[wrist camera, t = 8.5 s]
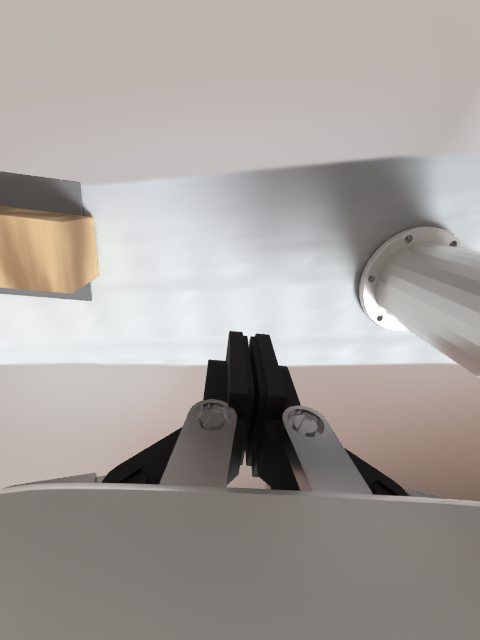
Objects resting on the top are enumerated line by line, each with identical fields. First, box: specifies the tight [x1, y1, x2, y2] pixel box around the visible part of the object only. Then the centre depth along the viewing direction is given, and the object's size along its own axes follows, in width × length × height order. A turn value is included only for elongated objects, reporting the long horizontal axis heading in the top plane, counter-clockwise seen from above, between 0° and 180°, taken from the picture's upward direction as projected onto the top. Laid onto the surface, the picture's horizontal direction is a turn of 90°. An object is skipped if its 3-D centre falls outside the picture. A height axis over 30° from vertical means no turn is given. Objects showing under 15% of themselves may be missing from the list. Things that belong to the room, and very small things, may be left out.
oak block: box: [0, 206, 99, 294], centre depth 25 cm, size 6×6×12 cm
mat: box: [0, 172, 92, 301], centre depth 27 cm, size 10×12×1 cm
